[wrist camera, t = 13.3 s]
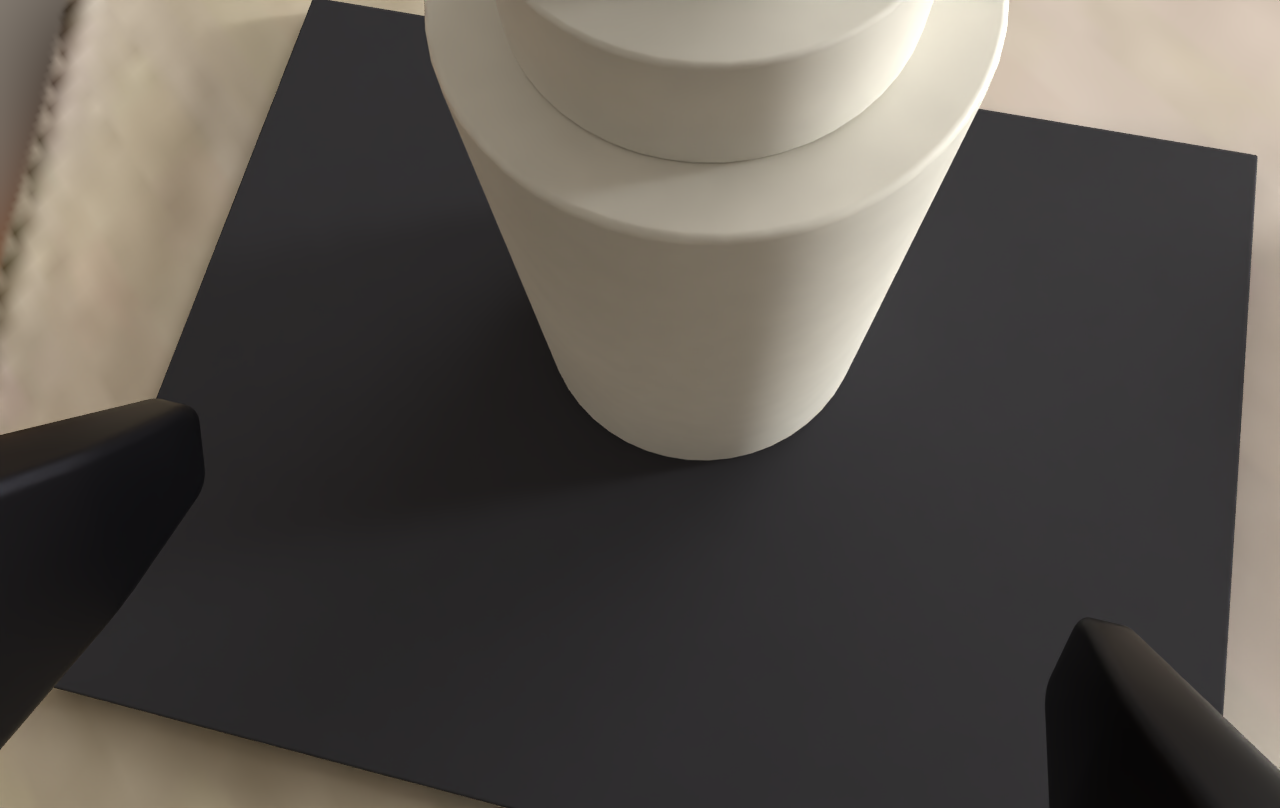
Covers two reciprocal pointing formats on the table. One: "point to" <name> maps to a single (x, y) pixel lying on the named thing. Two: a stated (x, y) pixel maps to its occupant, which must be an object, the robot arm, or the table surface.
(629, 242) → the bottle
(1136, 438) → the felt mat
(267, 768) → the table surface
